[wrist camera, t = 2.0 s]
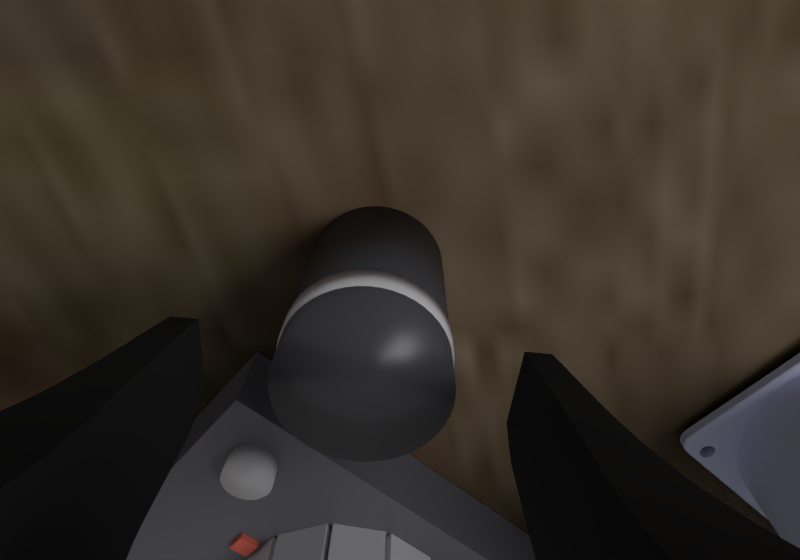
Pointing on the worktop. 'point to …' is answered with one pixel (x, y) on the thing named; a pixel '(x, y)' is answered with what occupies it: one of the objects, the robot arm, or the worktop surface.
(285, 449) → the camera body
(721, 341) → the worktop surface
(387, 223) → the lens
